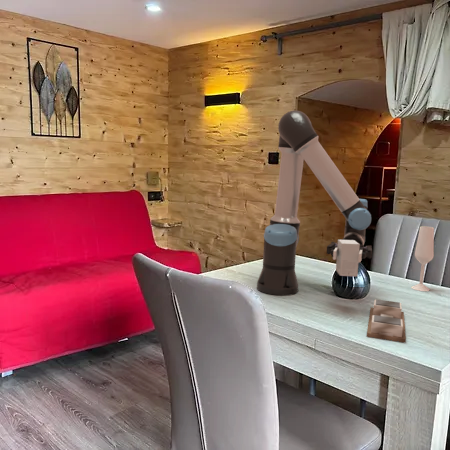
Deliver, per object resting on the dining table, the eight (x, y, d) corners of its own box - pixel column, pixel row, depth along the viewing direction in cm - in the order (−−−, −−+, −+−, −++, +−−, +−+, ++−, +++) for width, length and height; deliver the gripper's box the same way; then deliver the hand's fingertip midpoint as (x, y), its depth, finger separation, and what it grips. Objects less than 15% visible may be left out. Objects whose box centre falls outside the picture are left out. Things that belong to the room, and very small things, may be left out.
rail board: (366, 336, 124) (367, 321, 123) (370, 310, 146) (371, 297, 146) (405, 342, 121) (407, 327, 120) (403, 314, 143) (404, 301, 142)
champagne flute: (407, 287, 175) (413, 226, 171) (417, 285, 179) (423, 225, 175) (424, 292, 169) (430, 229, 166) (433, 289, 173) (440, 227, 170)
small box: (357, 277, 142) (360, 244, 140) (339, 276, 142) (341, 243, 141) (352, 271, 150) (355, 239, 148) (335, 270, 150) (337, 239, 149)
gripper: (380, 257, 159) (379, 272, 137) (323, 251, 165) (314, 264, 144) (382, 236, 158) (381, 248, 136) (324, 231, 164) (315, 241, 143)
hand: (346, 256), depth 140 cm, fingers closed on small box, 7 cm apart
